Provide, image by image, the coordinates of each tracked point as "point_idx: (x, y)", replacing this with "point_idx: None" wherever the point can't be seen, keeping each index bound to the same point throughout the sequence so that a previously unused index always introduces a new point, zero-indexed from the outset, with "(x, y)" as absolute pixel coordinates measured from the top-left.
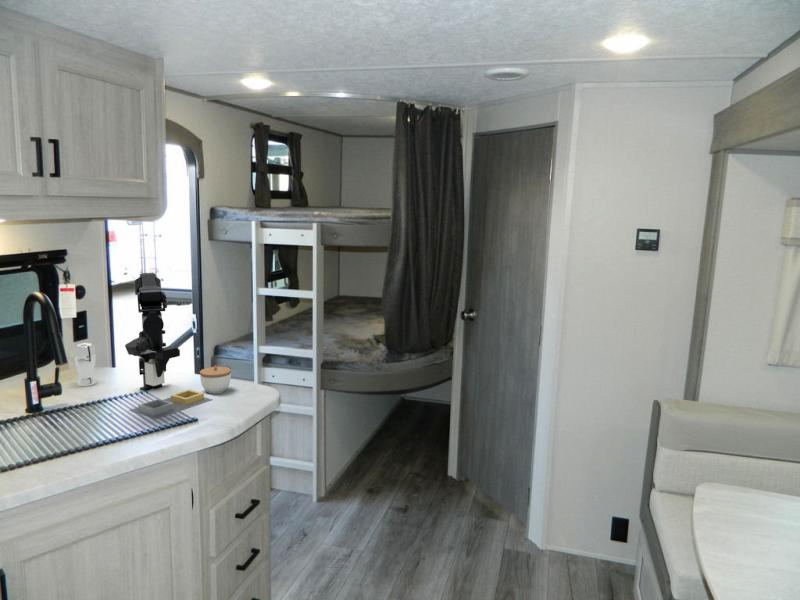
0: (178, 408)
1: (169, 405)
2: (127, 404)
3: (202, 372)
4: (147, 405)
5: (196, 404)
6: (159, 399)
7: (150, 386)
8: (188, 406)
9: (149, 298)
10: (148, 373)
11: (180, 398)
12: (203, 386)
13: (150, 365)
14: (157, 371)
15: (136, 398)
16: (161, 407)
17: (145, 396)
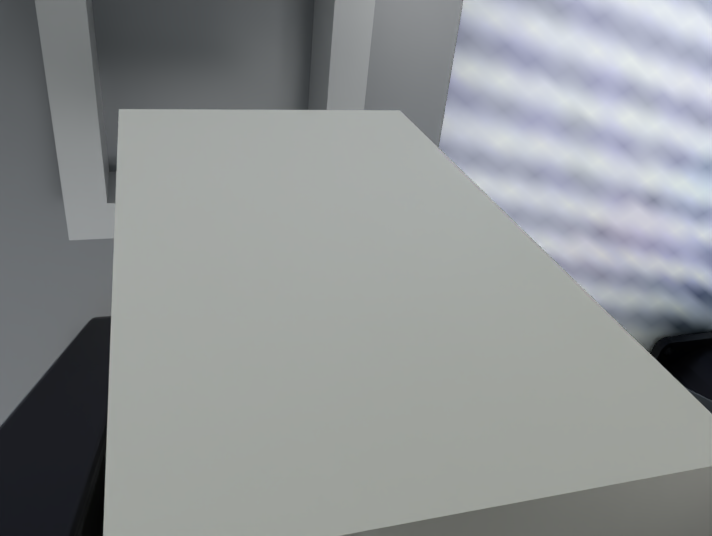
0: (48, 242)
1: (63, 177)
2: (656, 66)
3: None
4: (325, 42)
5: (16, 402)
6: None
7: (698, 374)
8: (23, 332)
9: None
10: (357, 230)
11: None
12: None
13: (298, 471)
14: (28, 419)
15: (675, 205)
16: (46, 59)
17: (638, 271)
